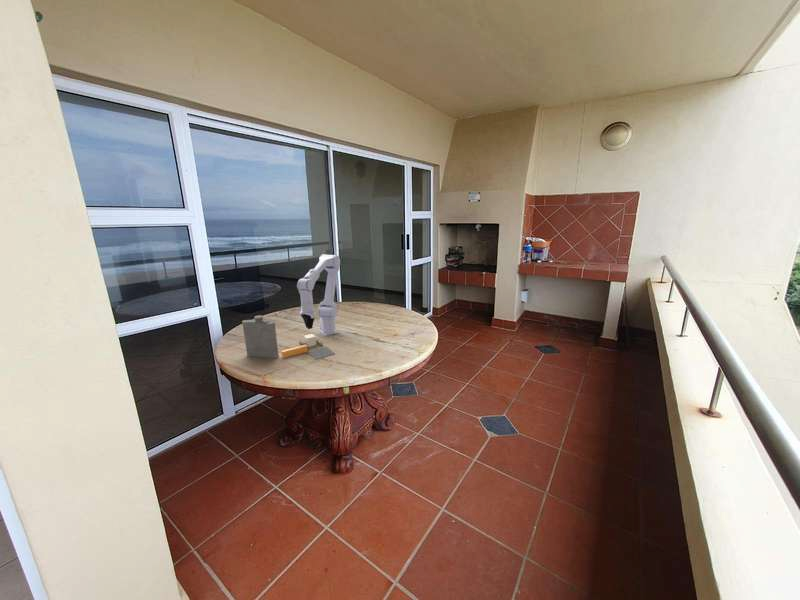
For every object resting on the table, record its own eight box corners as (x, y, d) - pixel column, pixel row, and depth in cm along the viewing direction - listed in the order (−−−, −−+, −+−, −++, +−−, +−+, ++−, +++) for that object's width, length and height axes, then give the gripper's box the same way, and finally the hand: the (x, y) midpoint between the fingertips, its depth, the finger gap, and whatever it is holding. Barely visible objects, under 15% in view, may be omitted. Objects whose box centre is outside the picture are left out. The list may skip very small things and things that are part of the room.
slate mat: (307, 352, 157) (307, 352, 157) (326, 347, 163) (326, 346, 163) (315, 360, 149) (315, 359, 149) (335, 354, 155) (335, 353, 155)
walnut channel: (299, 343, 167) (299, 340, 167) (314, 339, 172) (314, 336, 172) (306, 350, 160) (306, 346, 159) (322, 345, 165) (322, 342, 164)
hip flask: (245, 356, 154) (239, 316, 148) (251, 352, 157) (245, 314, 152) (276, 358, 151) (271, 318, 145) (280, 354, 155) (276, 315, 149)
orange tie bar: (282, 356, 152) (281, 351, 152) (306, 350, 159) (305, 344, 159) (283, 358, 151) (282, 352, 150) (307, 351, 158) (307, 345, 157)
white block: (304, 344, 166) (304, 335, 165) (313, 342, 169) (312, 333, 168) (308, 347, 163) (307, 338, 162) (316, 345, 166) (315, 336, 164)
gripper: (293, 300, 163) (296, 325, 167) (304, 307, 152) (307, 333, 156) (307, 298, 167) (309, 322, 171) (318, 304, 156) (320, 330, 160)
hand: (309, 327), depth 163 cm, fingers closed
